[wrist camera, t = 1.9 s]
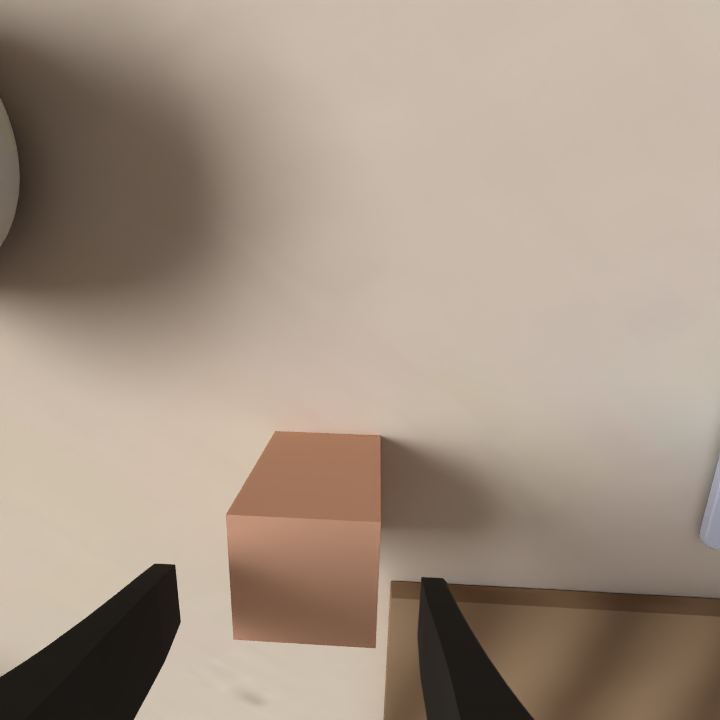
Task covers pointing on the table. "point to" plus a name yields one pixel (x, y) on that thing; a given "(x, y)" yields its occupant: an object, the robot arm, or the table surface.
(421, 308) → the table surface
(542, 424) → the table surface
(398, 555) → the table surface
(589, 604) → the board
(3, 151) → the teacup
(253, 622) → the block
